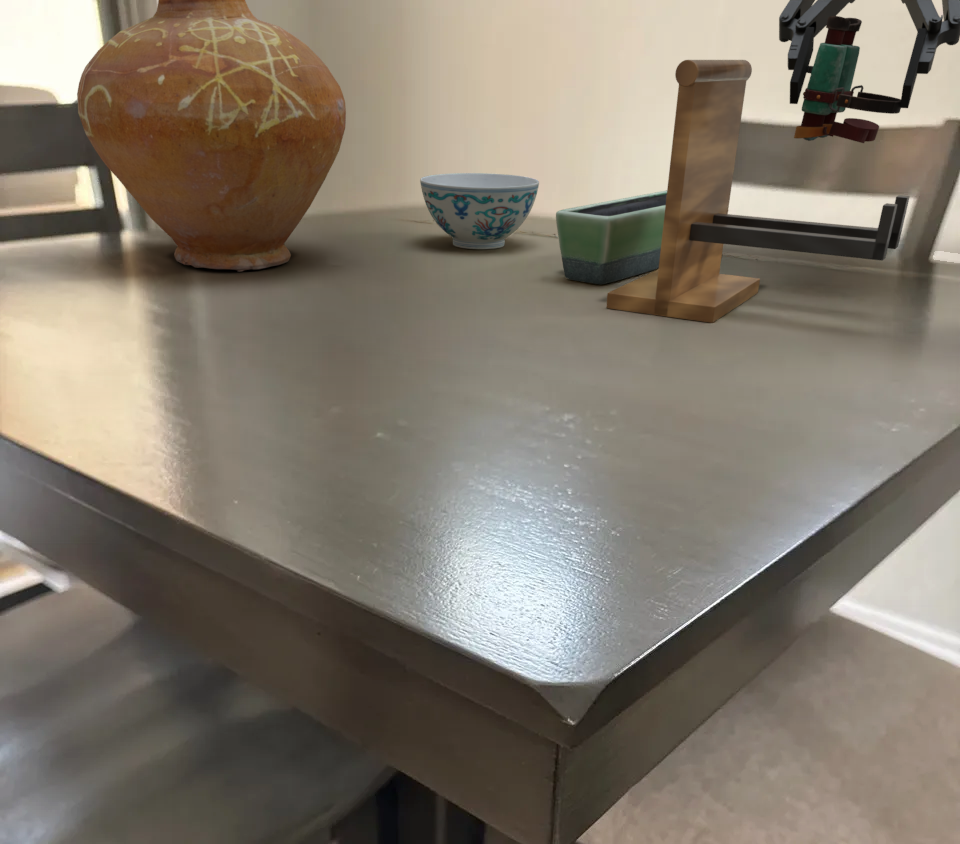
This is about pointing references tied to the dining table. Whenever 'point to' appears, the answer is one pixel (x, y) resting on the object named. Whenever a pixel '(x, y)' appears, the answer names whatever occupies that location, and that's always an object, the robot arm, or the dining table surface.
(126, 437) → the dining table surface
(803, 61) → the robot arm
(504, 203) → the chinaware
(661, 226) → the planter
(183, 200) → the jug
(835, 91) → the binoculars
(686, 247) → the hook rack
